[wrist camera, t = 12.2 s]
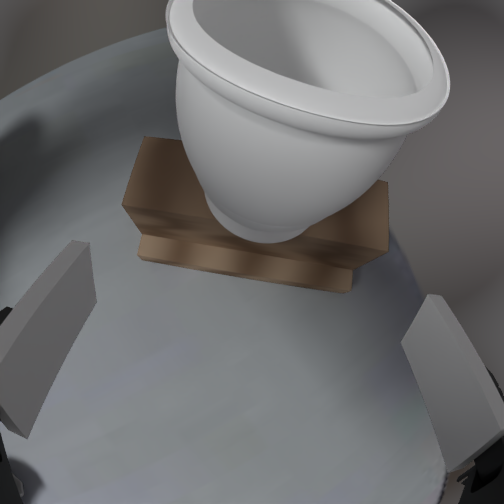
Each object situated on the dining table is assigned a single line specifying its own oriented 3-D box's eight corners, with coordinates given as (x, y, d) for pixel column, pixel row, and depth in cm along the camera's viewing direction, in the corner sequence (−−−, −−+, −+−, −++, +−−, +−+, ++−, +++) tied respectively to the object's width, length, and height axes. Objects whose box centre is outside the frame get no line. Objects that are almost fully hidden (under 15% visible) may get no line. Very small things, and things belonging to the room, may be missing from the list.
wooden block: (142, 259, 30) (114, 230, 21) (165, 168, 32) (151, 117, 23) (343, 293, 31) (387, 277, 22) (349, 202, 33) (386, 162, 25)
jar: (160, 201, 22) (99, 24, 7) (245, 110, 24) (271, -54, 10) (284, 290, 21) (413, 201, 7) (354, 182, 24) (466, 47, 9)
